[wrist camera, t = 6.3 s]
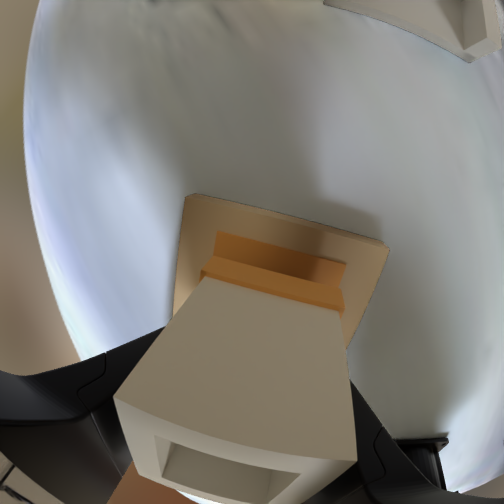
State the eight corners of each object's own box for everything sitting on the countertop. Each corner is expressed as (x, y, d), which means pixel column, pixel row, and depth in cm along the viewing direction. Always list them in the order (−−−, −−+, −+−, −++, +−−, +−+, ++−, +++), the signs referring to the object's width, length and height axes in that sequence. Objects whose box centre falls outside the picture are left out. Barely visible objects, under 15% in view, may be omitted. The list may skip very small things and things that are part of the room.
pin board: (382, 241, 10) (417, 284, 7) (284, 440, 16) (277, 487, 12) (194, 193, 11) (144, 213, 7) (175, 410, 17) (154, 452, 13)
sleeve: (340, 288, 9) (370, 456, 3) (301, 378, 10) (287, 515, 5) (213, 255, 9) (103, 385, 3) (199, 351, 11) (134, 473, 5)
